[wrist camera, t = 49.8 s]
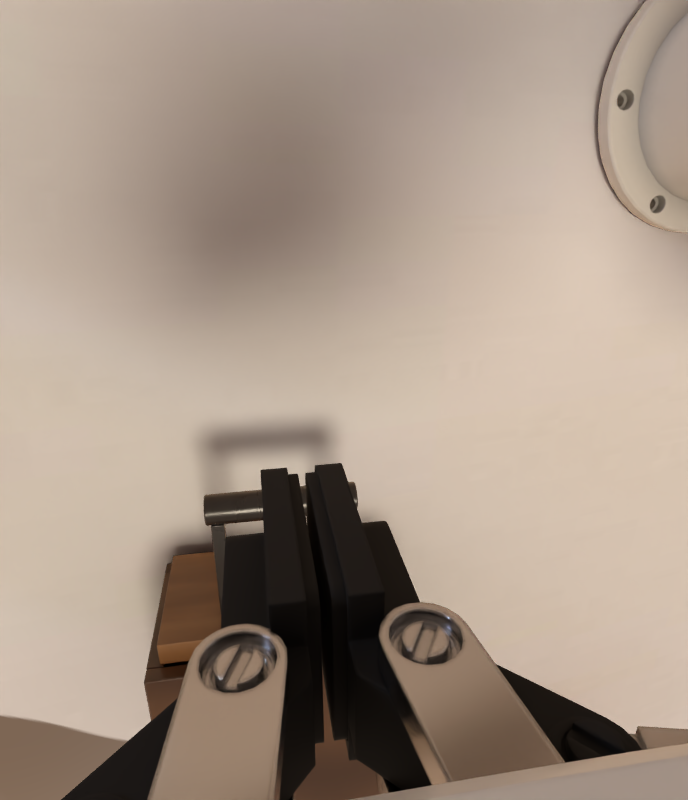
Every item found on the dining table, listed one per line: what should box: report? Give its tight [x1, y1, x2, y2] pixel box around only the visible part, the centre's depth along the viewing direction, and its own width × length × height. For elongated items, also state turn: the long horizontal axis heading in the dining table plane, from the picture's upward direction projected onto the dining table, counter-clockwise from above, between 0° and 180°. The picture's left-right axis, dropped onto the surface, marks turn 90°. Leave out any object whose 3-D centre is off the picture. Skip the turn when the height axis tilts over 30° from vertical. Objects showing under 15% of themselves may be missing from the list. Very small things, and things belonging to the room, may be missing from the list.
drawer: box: [157, 482, 358, 665], centre depth 32 cm, size 20×12×7 cm, turn 1°
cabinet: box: [144, 564, 379, 800], centre depth 33 cm, size 15×14×9 cm
